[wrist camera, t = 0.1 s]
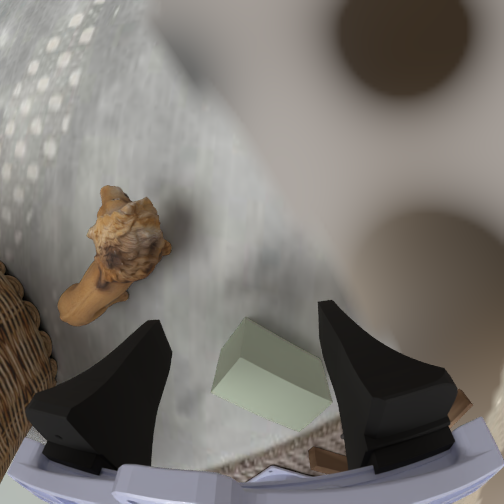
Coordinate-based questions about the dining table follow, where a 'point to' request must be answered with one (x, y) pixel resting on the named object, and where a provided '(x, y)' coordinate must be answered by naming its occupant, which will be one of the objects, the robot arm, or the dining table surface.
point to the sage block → (271, 377)
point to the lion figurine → (115, 256)
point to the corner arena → (337, 462)
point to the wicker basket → (19, 365)
